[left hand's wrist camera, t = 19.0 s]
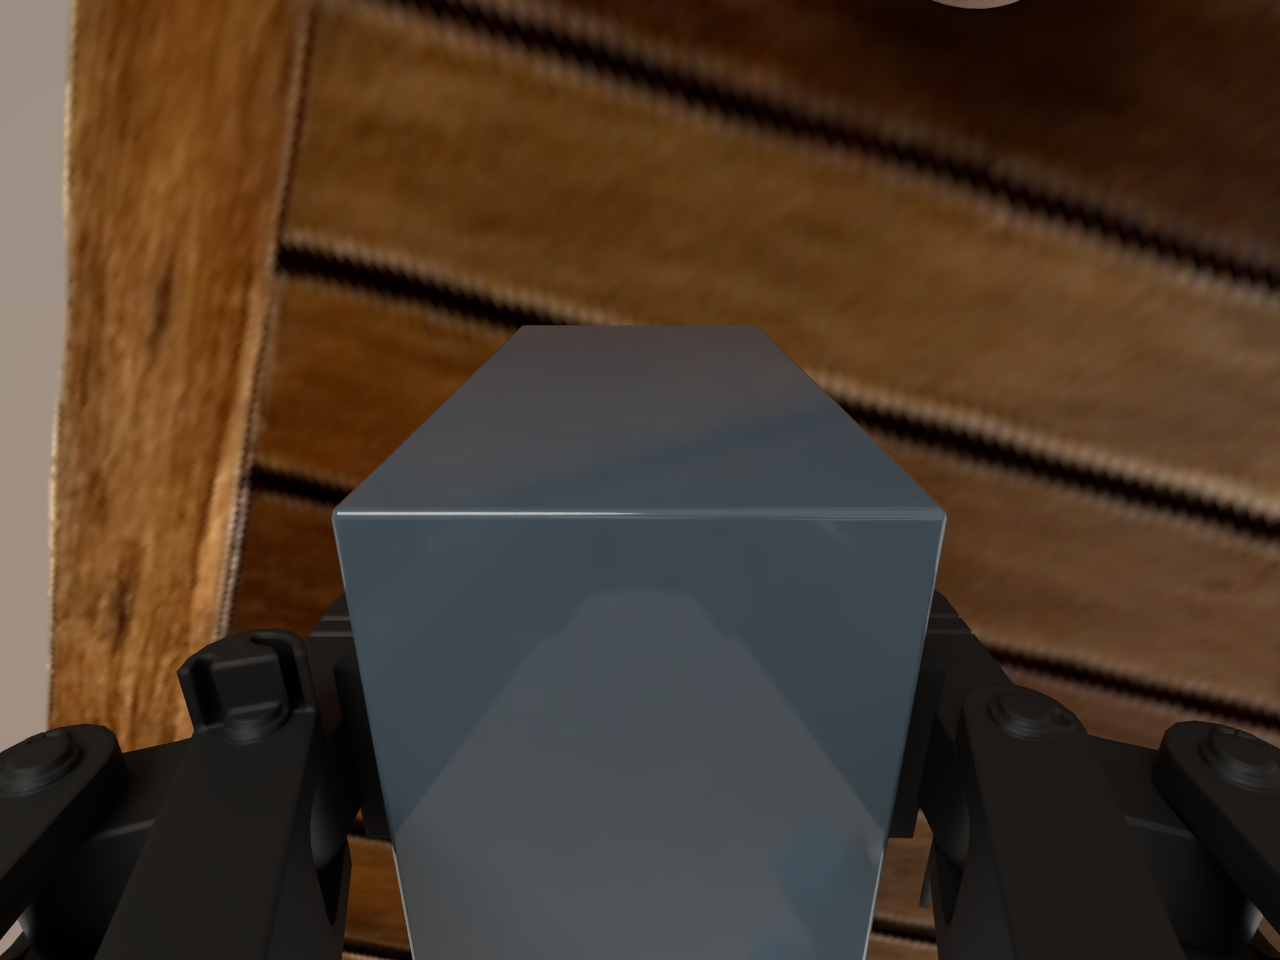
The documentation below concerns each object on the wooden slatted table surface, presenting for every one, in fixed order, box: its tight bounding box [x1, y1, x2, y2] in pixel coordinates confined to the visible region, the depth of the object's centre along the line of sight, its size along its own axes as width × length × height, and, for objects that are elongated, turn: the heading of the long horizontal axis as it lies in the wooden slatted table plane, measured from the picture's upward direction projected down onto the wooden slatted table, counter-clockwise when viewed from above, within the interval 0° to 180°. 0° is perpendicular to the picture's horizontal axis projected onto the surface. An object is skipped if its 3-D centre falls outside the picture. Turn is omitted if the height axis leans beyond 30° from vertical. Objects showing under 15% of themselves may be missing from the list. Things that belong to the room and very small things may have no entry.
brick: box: [332, 326, 947, 960], centre depth 13 cm, size 6×8×11 cm
